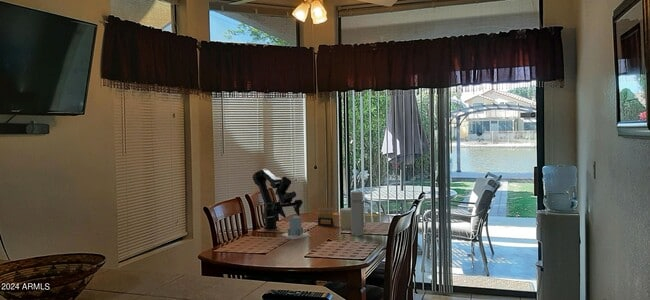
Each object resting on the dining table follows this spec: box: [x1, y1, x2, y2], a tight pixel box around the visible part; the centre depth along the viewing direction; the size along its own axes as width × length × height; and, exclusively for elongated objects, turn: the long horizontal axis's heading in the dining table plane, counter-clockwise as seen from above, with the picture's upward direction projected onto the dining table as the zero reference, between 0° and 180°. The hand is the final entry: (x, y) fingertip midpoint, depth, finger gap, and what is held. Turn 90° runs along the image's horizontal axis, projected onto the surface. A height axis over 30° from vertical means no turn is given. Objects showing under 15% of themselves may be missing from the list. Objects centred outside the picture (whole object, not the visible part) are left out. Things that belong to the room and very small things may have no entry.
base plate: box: [281, 226, 311, 240], centre depth 279 cm, size 12×12×5 cm
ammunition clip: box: [317, 206, 335, 227], centre depth 310 cm, size 11×2×12 cm, turn 69°
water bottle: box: [350, 190, 367, 237], centre depth 277 cm, size 9×8×25 cm
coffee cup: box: [339, 207, 351, 230], centre depth 299 cm, size 9×9×12 cm
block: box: [288, 215, 302, 235], centre depth 278 cm, size 5×5×10 cm
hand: (292, 216), depth 281 cm, fingers open, 9 cm apart
